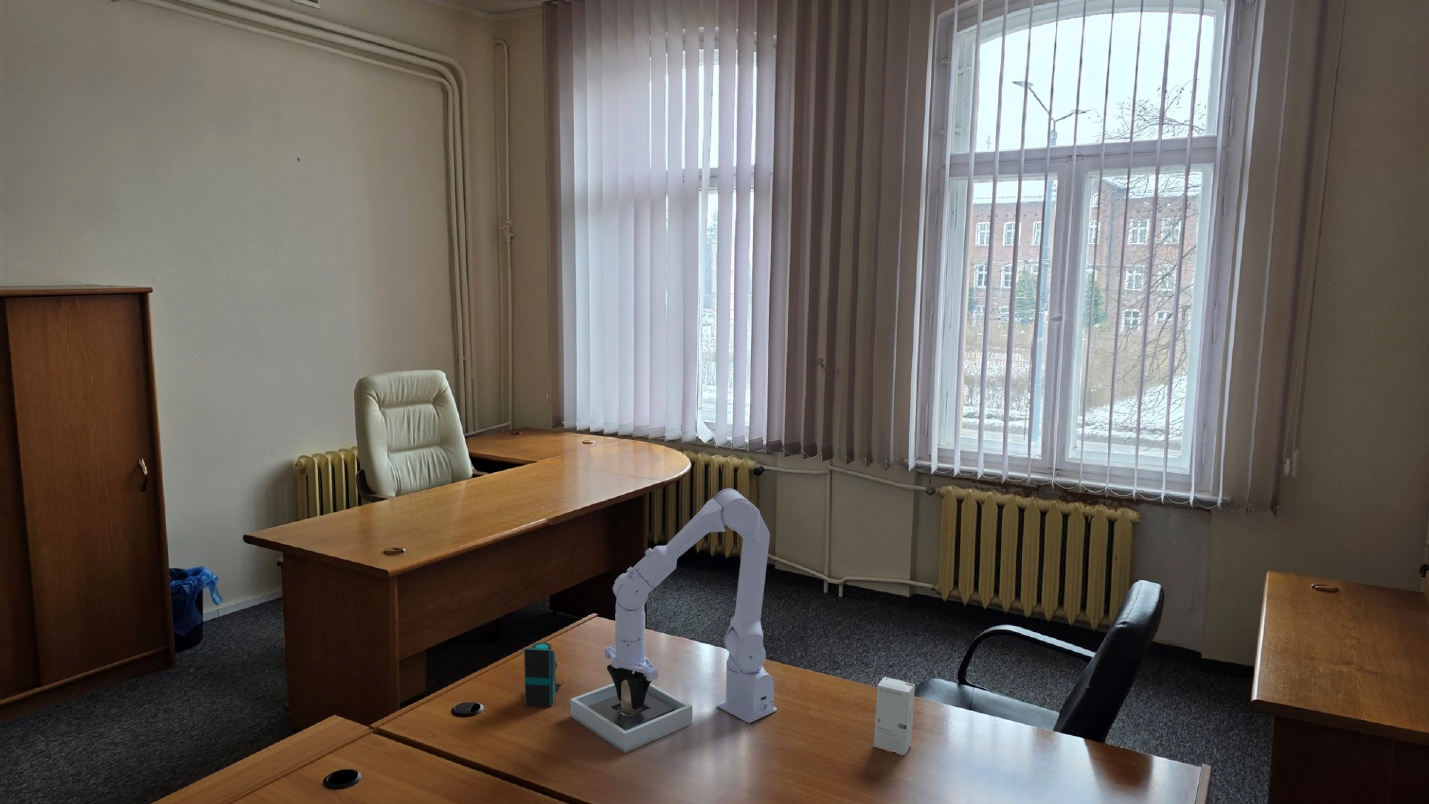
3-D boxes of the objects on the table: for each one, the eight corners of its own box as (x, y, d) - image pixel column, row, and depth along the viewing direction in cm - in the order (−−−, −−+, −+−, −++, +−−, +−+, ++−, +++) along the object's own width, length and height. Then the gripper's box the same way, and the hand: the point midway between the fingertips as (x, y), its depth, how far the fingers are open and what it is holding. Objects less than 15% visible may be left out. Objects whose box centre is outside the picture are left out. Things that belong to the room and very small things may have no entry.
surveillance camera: (565, 631, 175) (550, 650, 166) (566, 685, 177) (551, 708, 167) (539, 629, 176) (522, 649, 166) (540, 684, 177) (524, 706, 168)
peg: (646, 710, 162) (646, 683, 161) (630, 717, 159) (630, 689, 159) (632, 703, 165) (633, 677, 164) (616, 710, 162) (617, 683, 161)
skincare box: (873, 748, 152) (874, 685, 151) (880, 737, 156) (882, 675, 155) (906, 757, 149) (908, 692, 148) (913, 746, 153) (915, 683, 152)
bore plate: (674, 718, 162) (674, 708, 161) (624, 739, 154) (623, 729, 153) (637, 696, 170) (636, 687, 170) (587, 715, 162) (587, 706, 162)
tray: (692, 723, 161) (692, 706, 160) (624, 753, 150) (624, 734, 150) (636, 691, 174) (635, 675, 174) (570, 716, 163) (570, 699, 163)
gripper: (591, 630, 163) (592, 696, 164) (636, 653, 152) (636, 724, 154) (621, 621, 168) (621, 686, 169) (666, 643, 157) (666, 711, 158)
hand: (630, 703), depth 162 cm, fingers closed on peg, 4 cm apart
